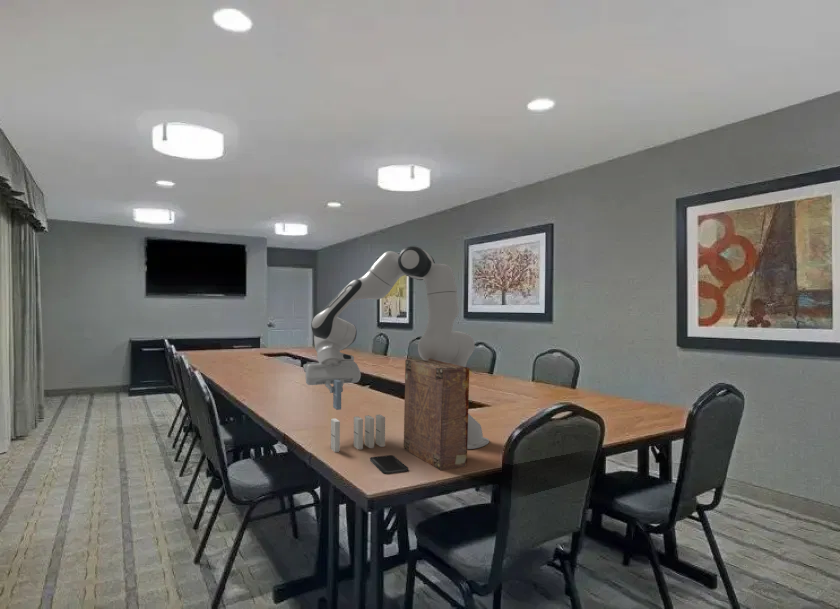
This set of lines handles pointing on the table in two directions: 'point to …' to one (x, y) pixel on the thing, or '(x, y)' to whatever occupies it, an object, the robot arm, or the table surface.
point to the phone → (388, 464)
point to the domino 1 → (337, 394)
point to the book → (436, 412)
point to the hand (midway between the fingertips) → (336, 391)
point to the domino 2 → (335, 435)
